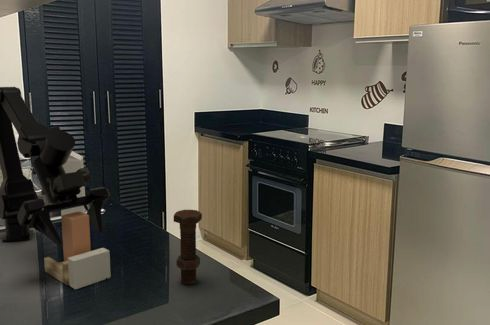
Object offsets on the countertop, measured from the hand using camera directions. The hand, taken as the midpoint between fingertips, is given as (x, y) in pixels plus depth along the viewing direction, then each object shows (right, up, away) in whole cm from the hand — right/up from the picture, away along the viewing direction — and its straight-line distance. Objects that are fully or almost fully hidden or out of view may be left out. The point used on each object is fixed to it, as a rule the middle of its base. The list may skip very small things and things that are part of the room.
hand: (80, 238), depth 99 cm
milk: (-14, -2, +36) cm, 39 cm away
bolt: (+22, -9, 0) cm, 24 cm away
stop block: (+2, -9, 0) cm, 9 cm away
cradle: (-2, -8, +4) cm, 9 cm away
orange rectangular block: (-2, -7, +3) cm, 8 cm away
